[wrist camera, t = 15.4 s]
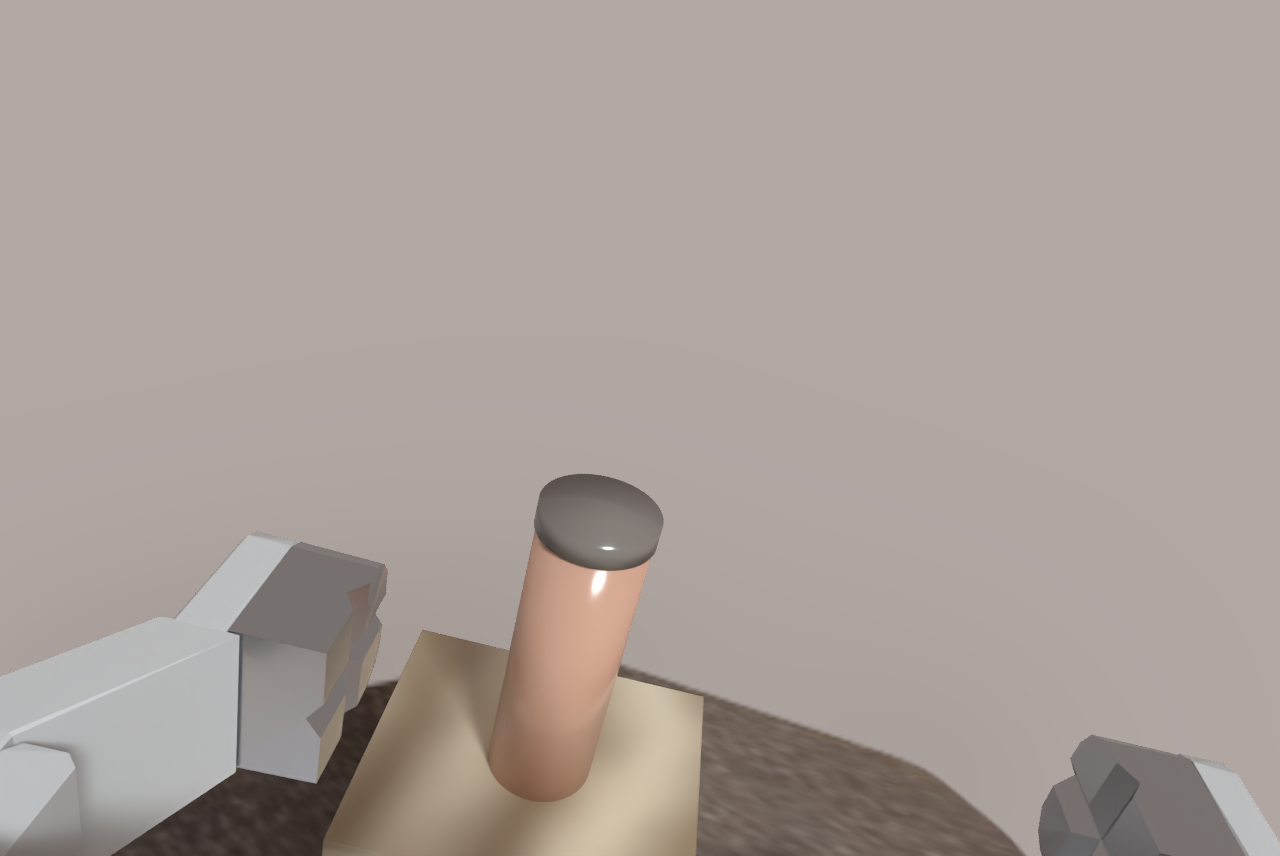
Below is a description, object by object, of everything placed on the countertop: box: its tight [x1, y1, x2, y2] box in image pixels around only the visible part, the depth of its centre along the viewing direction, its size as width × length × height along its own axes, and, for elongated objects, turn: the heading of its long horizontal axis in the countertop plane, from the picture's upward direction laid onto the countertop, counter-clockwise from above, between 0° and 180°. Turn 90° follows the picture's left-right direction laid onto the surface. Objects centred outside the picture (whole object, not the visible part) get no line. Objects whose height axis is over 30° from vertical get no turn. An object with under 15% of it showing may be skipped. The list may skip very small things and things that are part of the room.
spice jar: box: [488, 474, 663, 802], centre depth 36 cm, size 5×5×13 cm
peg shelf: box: [322, 630, 703, 856], centre depth 42 cm, size 14×12×10 cm
